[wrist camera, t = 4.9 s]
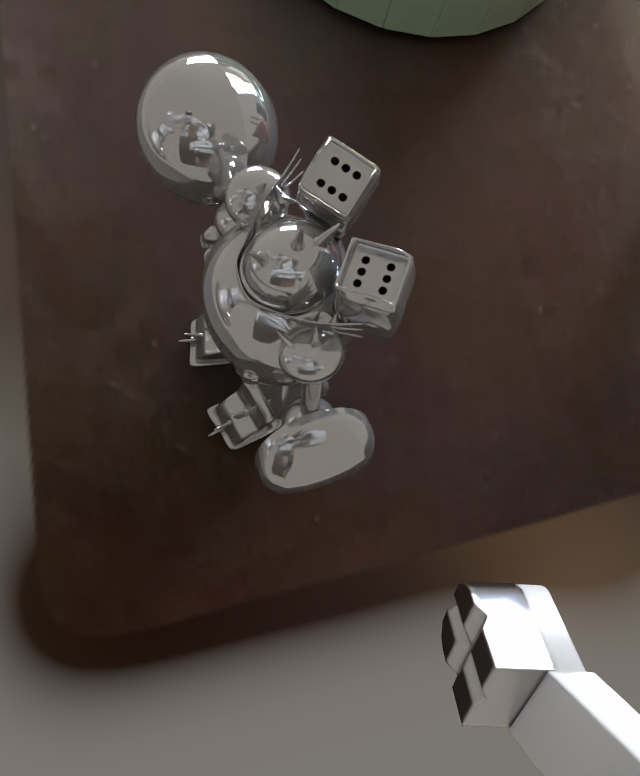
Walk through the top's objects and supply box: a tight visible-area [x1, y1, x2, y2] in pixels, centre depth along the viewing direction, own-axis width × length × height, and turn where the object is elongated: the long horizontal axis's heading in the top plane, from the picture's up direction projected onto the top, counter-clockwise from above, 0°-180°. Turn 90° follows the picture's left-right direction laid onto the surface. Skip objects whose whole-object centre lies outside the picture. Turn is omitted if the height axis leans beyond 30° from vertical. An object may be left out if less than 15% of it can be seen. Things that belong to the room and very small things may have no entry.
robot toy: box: [134, 51, 416, 494], centre depth 20 cm, size 15×6×15 cm, turn 19°
